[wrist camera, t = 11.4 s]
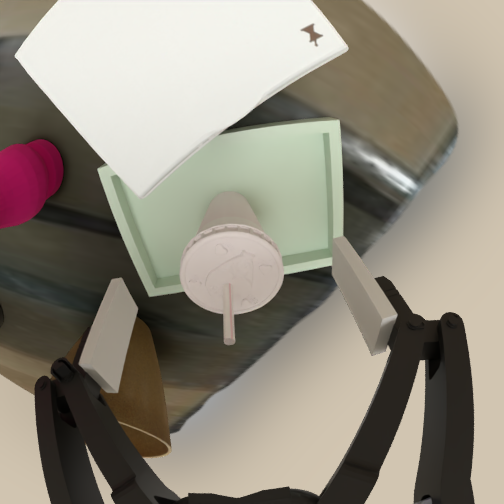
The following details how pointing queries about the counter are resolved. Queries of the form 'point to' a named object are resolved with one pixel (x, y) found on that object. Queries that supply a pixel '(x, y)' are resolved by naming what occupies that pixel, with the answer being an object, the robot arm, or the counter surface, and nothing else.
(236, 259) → the smoothie
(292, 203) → the tray
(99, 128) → the supplement box
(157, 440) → the plant pot
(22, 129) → the counter surface
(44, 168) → the pepper mill
